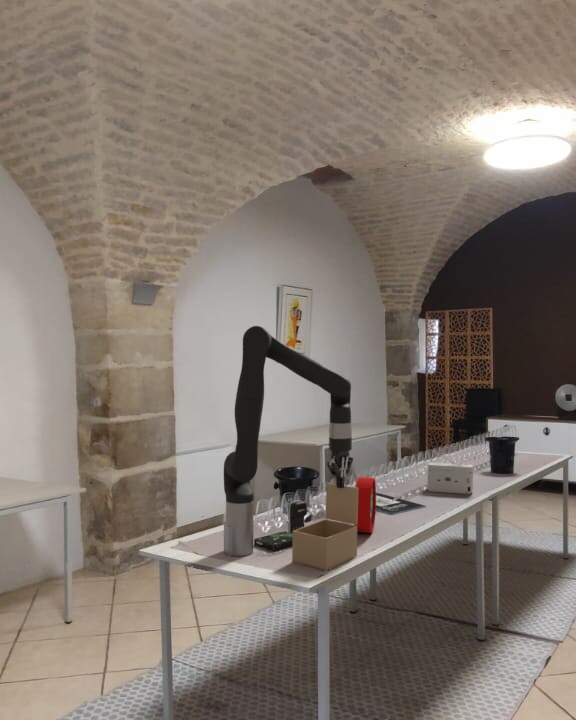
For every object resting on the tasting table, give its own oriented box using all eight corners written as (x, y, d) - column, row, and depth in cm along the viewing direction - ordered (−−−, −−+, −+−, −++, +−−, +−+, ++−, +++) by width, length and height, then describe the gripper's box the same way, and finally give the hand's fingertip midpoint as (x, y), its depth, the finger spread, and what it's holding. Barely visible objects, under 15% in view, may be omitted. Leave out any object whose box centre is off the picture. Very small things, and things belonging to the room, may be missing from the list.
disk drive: (274, 553, 222) (305, 544, 233) (274, 545, 222) (305, 536, 233) (253, 546, 230) (284, 537, 240) (253, 538, 230) (284, 530, 240)
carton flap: (357, 488, 219) (358, 487, 219) (326, 483, 226) (327, 482, 227) (356, 524, 219) (357, 524, 219) (325, 518, 226) (326, 518, 227)
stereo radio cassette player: (472, 491, 316) (473, 449, 316) (472, 495, 308) (473, 452, 308) (427, 488, 322) (428, 447, 321) (426, 492, 314) (427, 450, 313)
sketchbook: (391, 516, 272) (391, 511, 272) (340, 502, 295) (340, 497, 295) (425, 508, 285) (425, 503, 285) (374, 495, 309) (374, 490, 309)
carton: (326, 570, 204) (326, 538, 204) (292, 562, 212) (292, 530, 212) (356, 556, 219) (357, 525, 219) (323, 548, 227) (324, 519, 226)
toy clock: (369, 539, 237) (370, 483, 237) (353, 538, 239) (354, 482, 238) (375, 524, 257) (376, 473, 256) (360, 523, 258) (361, 472, 257)
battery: (294, 535, 242) (295, 504, 241) (287, 533, 244) (287, 502, 244) (308, 531, 247) (308, 500, 246) (300, 529, 249) (301, 499, 249)
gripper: (341, 432, 229) (341, 482, 229) (319, 437, 218) (319, 490, 219) (360, 434, 224) (360, 485, 225) (339, 439, 214) (339, 493, 214)
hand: (340, 487), depth 222 cm, fingers closed
